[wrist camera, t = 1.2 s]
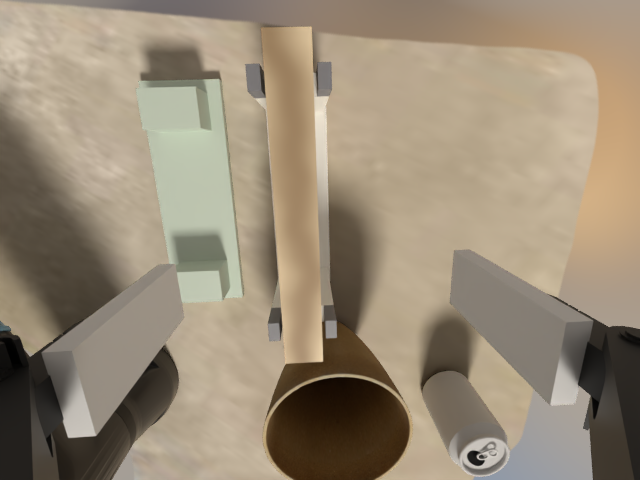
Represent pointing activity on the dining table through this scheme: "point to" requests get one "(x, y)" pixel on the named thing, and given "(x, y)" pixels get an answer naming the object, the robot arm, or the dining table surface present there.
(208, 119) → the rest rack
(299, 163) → the rail
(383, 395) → the plant pot
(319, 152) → the stand
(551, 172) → the dining table surface
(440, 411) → the can
